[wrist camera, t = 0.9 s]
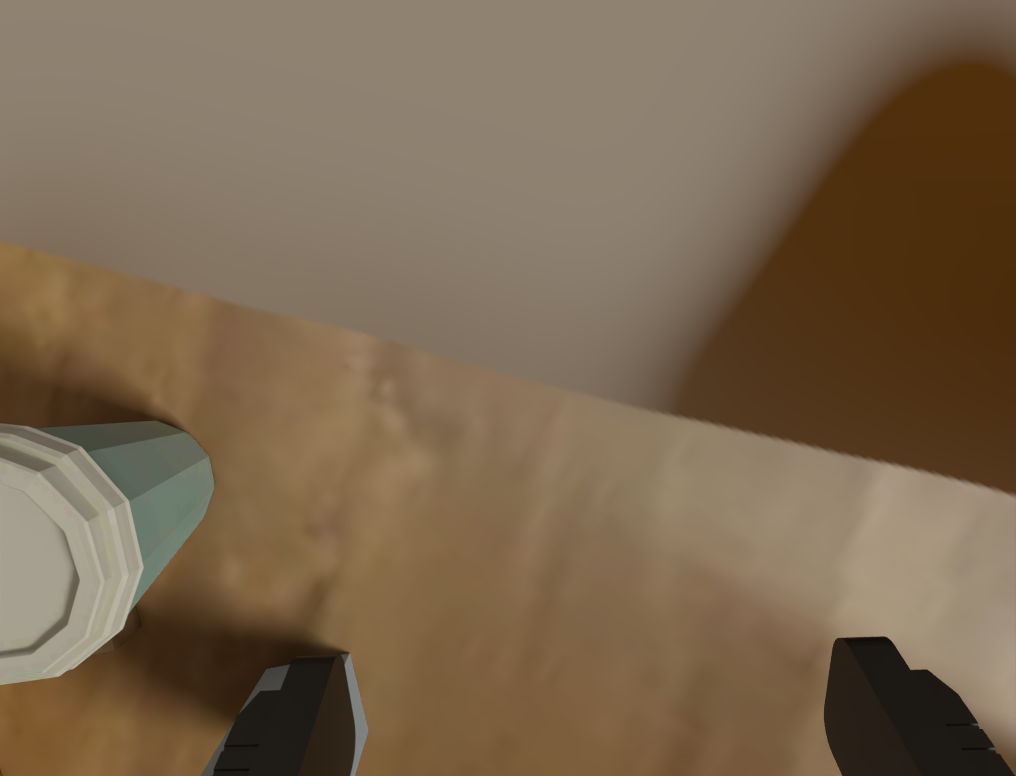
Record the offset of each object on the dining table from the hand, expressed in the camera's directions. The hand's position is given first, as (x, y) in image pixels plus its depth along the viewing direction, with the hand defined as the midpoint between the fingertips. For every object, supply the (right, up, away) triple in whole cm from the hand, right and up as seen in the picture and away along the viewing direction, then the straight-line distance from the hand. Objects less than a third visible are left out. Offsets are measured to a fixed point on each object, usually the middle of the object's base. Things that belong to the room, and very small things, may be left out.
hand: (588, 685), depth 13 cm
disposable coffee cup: (-21, 0, +31) cm, 38 cm away
